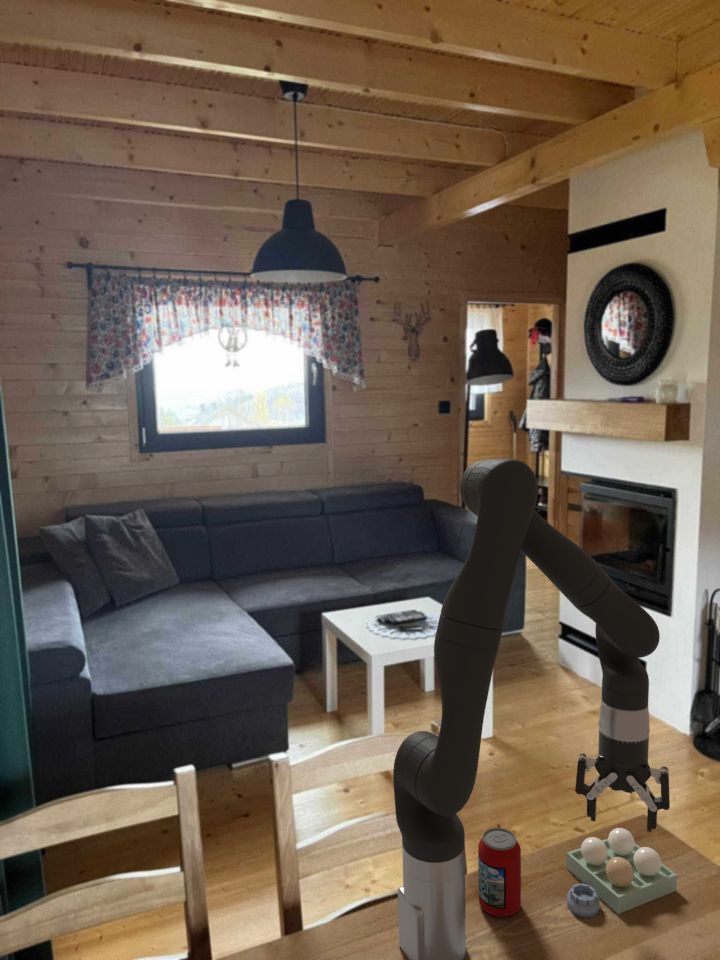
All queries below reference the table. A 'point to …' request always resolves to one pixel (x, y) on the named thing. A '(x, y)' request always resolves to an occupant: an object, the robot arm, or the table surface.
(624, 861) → the brown egg
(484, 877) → the beverage can
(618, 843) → the white egg
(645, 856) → the white egg
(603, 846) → the white egg
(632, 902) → the egg carton
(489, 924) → the table surface
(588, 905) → the egg cup
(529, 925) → the table surface
